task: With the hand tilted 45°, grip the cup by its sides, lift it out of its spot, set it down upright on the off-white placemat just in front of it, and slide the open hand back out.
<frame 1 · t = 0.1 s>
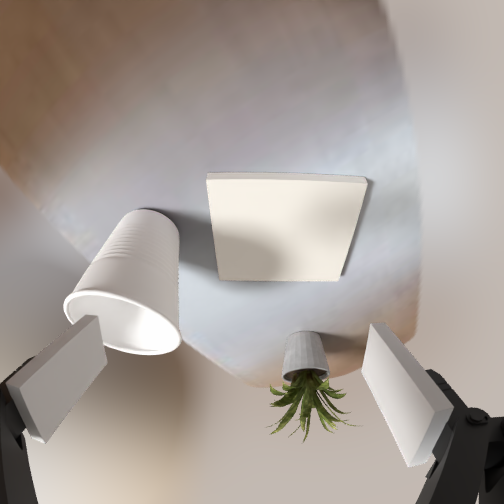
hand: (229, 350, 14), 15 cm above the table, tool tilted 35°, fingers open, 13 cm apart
house plant: (311, 335, 45), on the table
cup: (150, 228, 29), on the table
placemat: (283, 230, 29), on the table
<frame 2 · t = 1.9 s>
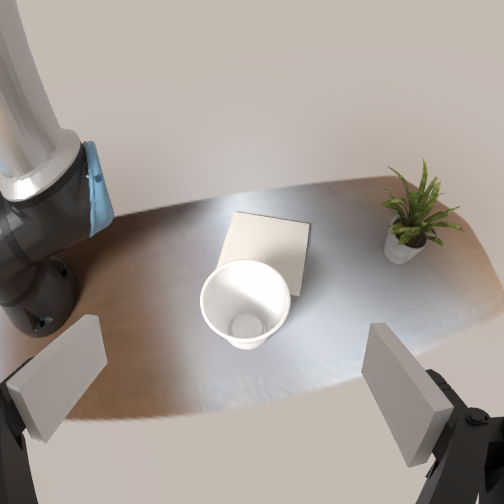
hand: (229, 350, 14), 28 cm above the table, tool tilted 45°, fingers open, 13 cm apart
house plant: (392, 246, 50), on the table
cup: (247, 329, 43), on the table
placemat: (264, 252, 49), on the table
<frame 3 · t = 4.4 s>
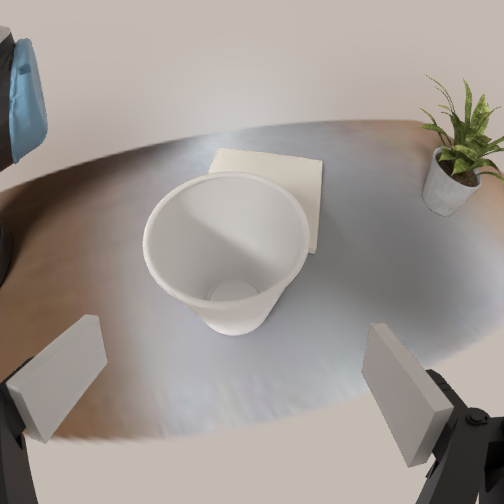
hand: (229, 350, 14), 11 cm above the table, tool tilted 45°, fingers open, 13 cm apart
house plant: (432, 194, 35), on the table
cup: (235, 304, 27), on the table
placemat: (260, 196, 34), on the table
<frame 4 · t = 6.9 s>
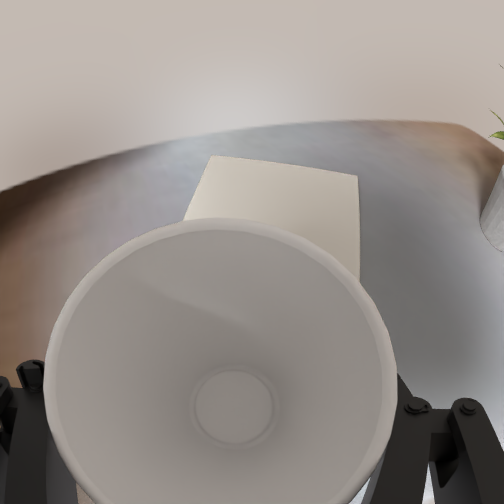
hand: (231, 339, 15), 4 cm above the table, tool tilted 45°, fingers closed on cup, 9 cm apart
house plant: (490, 222, 24), on the table
cup: (234, 407, 16), on the table, touching gripper
placemat: (272, 229, 23), on the table
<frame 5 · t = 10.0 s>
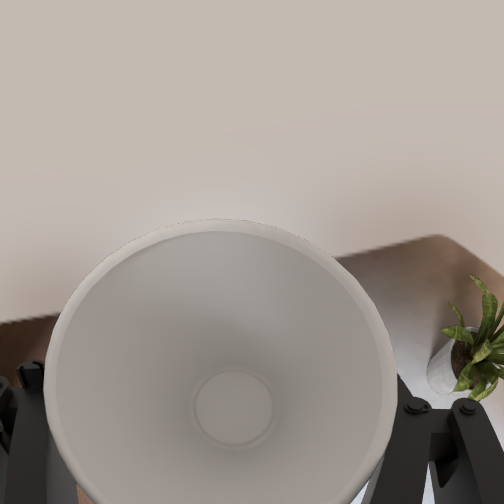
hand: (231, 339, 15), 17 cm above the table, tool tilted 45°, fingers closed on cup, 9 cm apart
house plant: (439, 363, 29), on the table
cup: (234, 408, 16), point 13 cm above the table, touching gripper
when the fingers open (6 cm above the table, at t = 13.4 s): cup moves 1 cm, point 1 cm above the table.
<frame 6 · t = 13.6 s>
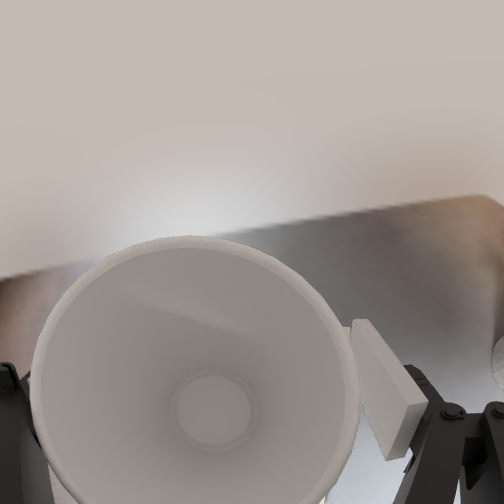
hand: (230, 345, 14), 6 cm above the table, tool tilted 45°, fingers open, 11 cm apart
house plant: (503, 351, 19), on the table
cup: (214, 410, 17), point 1 cm above the table, touching gripper
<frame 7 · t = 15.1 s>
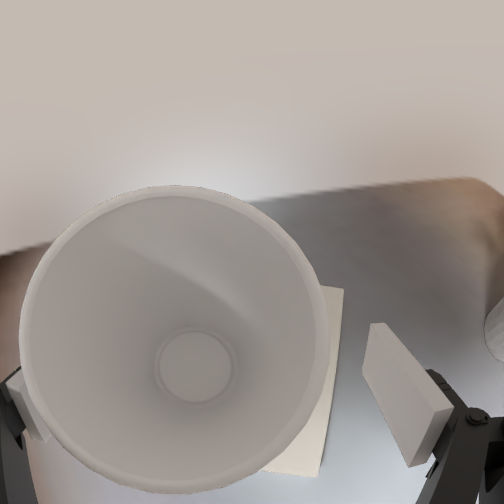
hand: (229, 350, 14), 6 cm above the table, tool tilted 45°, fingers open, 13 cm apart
house plant: (496, 322, 20), on the table
cup: (195, 367, 18), point 1 cm above the table, touching gripper, placemat
placemat: (233, 365, 19), on the table
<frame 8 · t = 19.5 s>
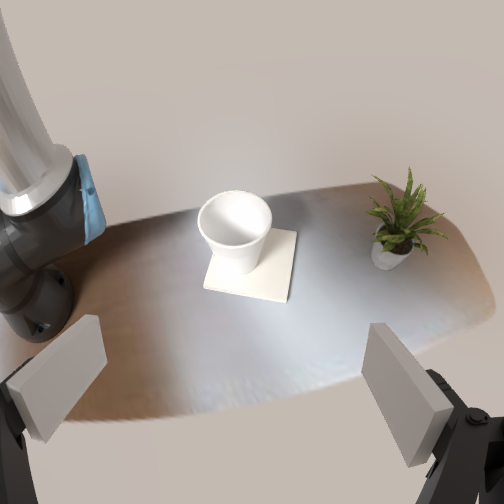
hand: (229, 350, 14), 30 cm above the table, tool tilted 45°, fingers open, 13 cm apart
house plant: (379, 252, 52), on the table
cup: (238, 261, 50), point 1 cm above the table, touching placemat
placemat: (252, 260, 51), on the table
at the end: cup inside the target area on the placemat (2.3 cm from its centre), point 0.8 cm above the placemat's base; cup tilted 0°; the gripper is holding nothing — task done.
